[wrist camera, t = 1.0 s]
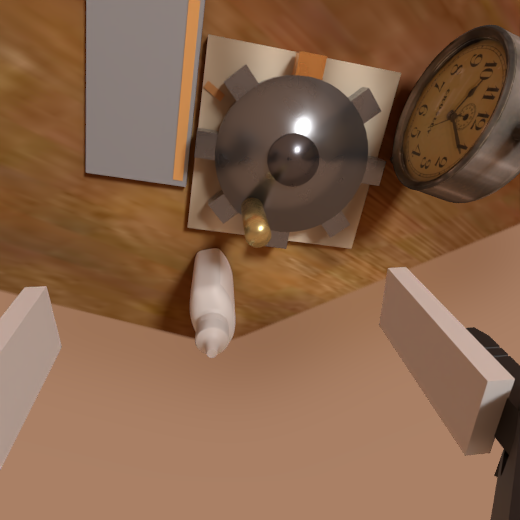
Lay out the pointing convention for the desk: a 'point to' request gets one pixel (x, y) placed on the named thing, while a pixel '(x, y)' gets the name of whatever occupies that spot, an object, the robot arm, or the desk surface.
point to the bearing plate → (262, 67)
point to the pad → (141, 87)
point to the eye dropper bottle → (212, 302)
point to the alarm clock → (463, 119)
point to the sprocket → (290, 152)
